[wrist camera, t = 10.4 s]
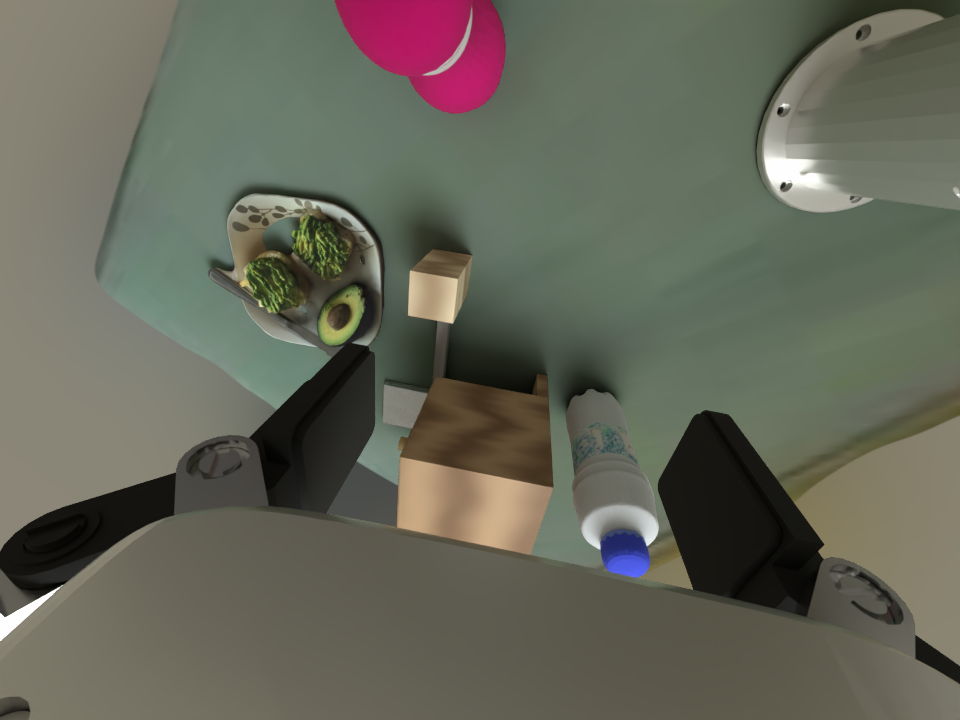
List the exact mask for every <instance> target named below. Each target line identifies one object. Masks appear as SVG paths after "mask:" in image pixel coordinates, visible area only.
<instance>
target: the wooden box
mask: <svg viewBox="0 0 960 720" xmlns="http://www.w3.org/2000/svg"><path fill="white" fill-rule="evenodd" d="M398 450H402V453H401V455H400V461H399V485H398V509H397V527H398V528H403V529H408V530H413V531H417V532H422V533H427V534H432V535H437V536H442V537H447V538H451V539H456V540H461V541H466V542H471V543H476V544H481V545H485V546H490V547H495V548H500V549H504V550H509V551H514V552H519V553H523V554H528V555H530V554H531V551H532V548H533V545H534V542H535V540H536V537H537V534H538V531H539V528H540V525H541V522H542V519H543V517H544V514H545V511H546V508H547V505H548V502H549V499H550V496H551V493H552V491H553V471H552V452H551V434H550V415H549V396H548V377H547V376H546V375H541V374H537V376H536V380H535V384H534V388H533V392H532V395H530V394H525V393H519V392H514V391H509V390H504V389H498V388H493V387H488V386H483V385H477V384H472V383H467V382H462V381H457V380H451V379H446V378H441V377H436V378H435V381H434V383H433V384H432V385H431V388H430V390H429V392H428V394H427V397H426V399H425V401H424V403H423V406H422V408H421V410H420V412H419V415H418V417H417V419H416V421H415V424H414V426H413V428H412V430H411V432H410V435H409V437H408V438H406V437H401V438H400V440H399V444H398Z"/></svg>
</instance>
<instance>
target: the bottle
mask: <svg viewBox="0 0 960 720" xmlns="http://www.w3.org/2000/svg"><path fill="white" fill-rule="evenodd" d="M566 423H567V429H568V434H569V438H570V442H571V450H572V458H573V466H574V475H575V478H574V481H573V485H572V490H573V504H574V506H575V509H576V513H577V516H578V520H579V524H580V527H581V531H582V534H583V536H584V537H585V539H586V540H587V541H588V542H589V543H590V544H591V545H593V546H594V547H596V548H598V549H600V550H601V555H602V560H603V563H604V565H605V567H606V568H607V570H608V571H609V572H613V573H617V574H622V575H626V576H631V577H639V576H641V575H643V574H644V573H646V571H647V570H648V568H649V566H650V556H649V552H648V548H647V546H648V545H649V544H650V543H652V541H653V540H654V539H655V538H656V536H657V534H658V528H659V526H658V519H657V514H656V508H655V502H654V493H653V490H652V488H651V486H650V485H649V481H648V478H647V477H646V475H645V474H644V472H643V471H641V470H640V467H639V464H638V461H637V458H636V455H635V452H634V449H633V446H632V443H631V440H630V437H629V434H628V429H627V425H626V420H625V416H624V413H623V410H622V408H621V406H620V404H619V403H618V402H617V401H616V399H615V398H614V397H613V396H612V395H611V394H610V393H608V392H603V393H599V392H597V391H595V390H594V389H588V390H587V391H586V392H585V394H583V395H581V396H578V395H575V396H574V397H573V398H572V399H571V401H570V404H569V407H568V410H567V412H566Z"/></svg>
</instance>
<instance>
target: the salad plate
mask: <svg viewBox="0 0 960 720" xmlns="http://www.w3.org/2000/svg"><path fill="white" fill-rule="evenodd" d="M288 217H301V218H300V221H299V222H300V227H299V229H298V230H297V231H295V230H293V231H292V233H291V234H292V236H293V237H294V238H296V242H294V243H293V245H292V249H293V253H291V254H289V255H287V254H285V253H283V252H280V251H274V250H272V251H267V248H266V247H265V244H264V241H263V238H262V234H263V233H264V231H265V230H266V229H267V228H268V227H269V226H270V225H271V224H273V223H275V222H276V221H277V220H280V219H283V218H288ZM227 230H228V235H229V241H230V245H231V250H232V254H233V259H234V265H235V267H234V270H233V271H225V270H222V269H219V268H215V267H213V268H212V269H210V270H209V271H208V276H209V278H210V279H211V280H213V281H214V282H215V283H216V284H218V285H220V286H221V287H223V288H224V289H226V290H228V291H229V292H231V293H233V294H234V295H236V296H238V297H239V298H241V299H242V301H243V304H244V306H245V308H246V310H247V312H248V314H249V315H250V317H251V318H252V319H253V320H254V321H255V322H256V323H257V324H258V325H259V326H260V327H261V328H262V329H263V330H264V331H265V332H266V333H267V334H269V335H270V336H272V337H274V338H277V339H280V340H284V341H287V342H292V343H297V344H303V345H307V346H314V347H319V348H320V349H322V350H324V351H326V353H327V354H328V355H330V356H331V357H333V356H334V355H335V354H336V353H337V352H338V351H339V350H340V349H341V348H342V347H343V346H344V345H345V344H346V343H355V344H360V345H365V346H368V345H369V344H371V343H372V341H374V339H375V337H376V336H377V335H378V333H379V330H380V326H381V322H382V312H383V307H384V261H383V253H382V247H381V244H380V242H379V241H378V239H377V238H376V236H375V235H374V233H373V232H372V231H371V229H370V228H369V227H368V226H367V225H366V224H365V222H364V221H363V220H362V219H360V218H359V217H358V216H357V215H356V214H354V213H353V212H352V211H350V210H349V209H347V208H345V207H342V206H340V205H338V204H336V203H333V202H330V201H327V200H322V199H305V198H299V197H291V196H285V195H275V194H259V193H253V194H251V195H248V196H245V197H244V198H242V199H241V200H239V201H238V203H237V204H236V205H235V206H234V208H233V209H232V211H231V212H230V213H229V216H228V221H227ZM360 259H361V262H362V263H360ZM302 306H304V307H305V308H306V309H307V313H303V312H302V311H301V307H302Z"/></svg>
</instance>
